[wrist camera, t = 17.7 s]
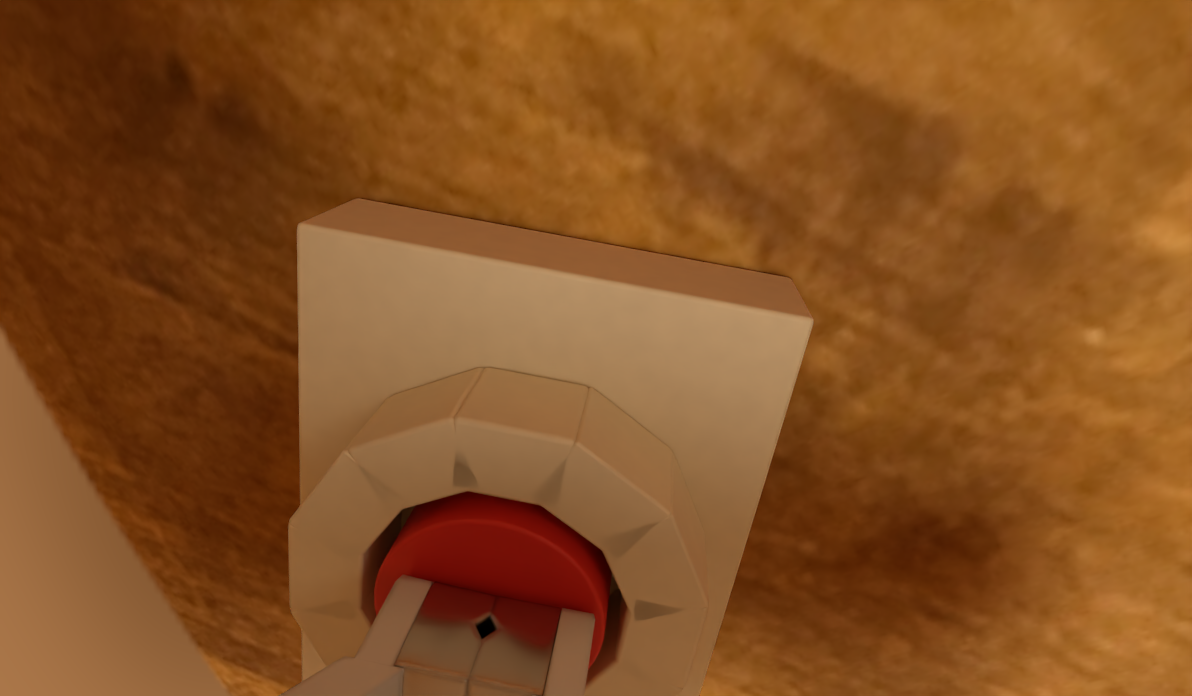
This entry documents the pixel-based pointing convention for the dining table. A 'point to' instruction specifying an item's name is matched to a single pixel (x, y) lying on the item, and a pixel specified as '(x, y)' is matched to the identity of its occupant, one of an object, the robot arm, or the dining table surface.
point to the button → (500, 555)
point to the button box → (535, 416)
